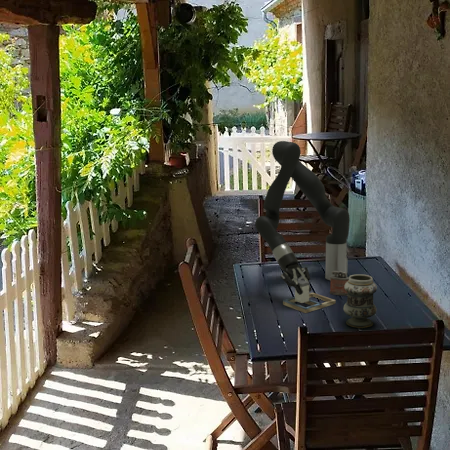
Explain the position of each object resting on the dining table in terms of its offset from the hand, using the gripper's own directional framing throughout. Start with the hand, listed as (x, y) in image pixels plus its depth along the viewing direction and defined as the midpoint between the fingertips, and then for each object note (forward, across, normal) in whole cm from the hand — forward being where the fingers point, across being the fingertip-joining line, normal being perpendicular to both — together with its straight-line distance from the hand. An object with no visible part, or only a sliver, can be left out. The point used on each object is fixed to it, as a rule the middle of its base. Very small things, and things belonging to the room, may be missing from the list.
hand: (305, 292), depth 251 cm
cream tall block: (+2, 0, +4) cm, 5 cm away
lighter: (+3, +23, +7) cm, 24 cm away
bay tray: (+3, +4, +6) cm, 8 cm away
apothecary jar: (+22, +3, -13) cm, 26 cm away
